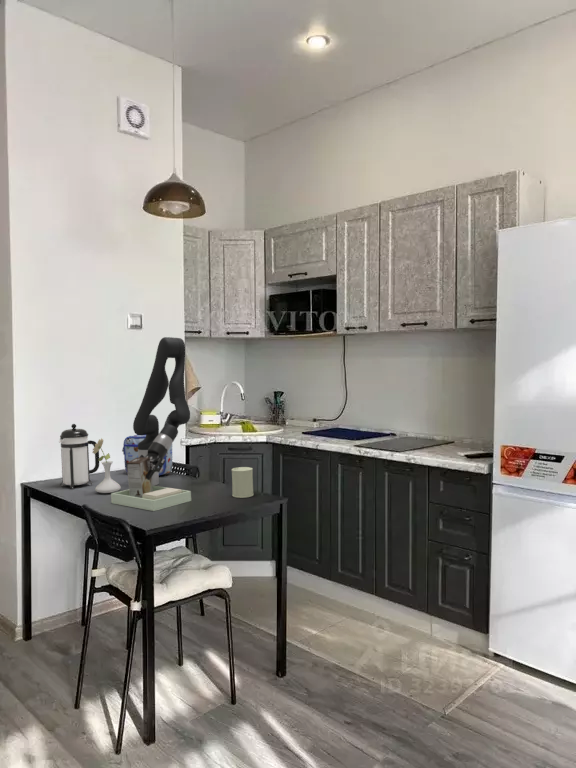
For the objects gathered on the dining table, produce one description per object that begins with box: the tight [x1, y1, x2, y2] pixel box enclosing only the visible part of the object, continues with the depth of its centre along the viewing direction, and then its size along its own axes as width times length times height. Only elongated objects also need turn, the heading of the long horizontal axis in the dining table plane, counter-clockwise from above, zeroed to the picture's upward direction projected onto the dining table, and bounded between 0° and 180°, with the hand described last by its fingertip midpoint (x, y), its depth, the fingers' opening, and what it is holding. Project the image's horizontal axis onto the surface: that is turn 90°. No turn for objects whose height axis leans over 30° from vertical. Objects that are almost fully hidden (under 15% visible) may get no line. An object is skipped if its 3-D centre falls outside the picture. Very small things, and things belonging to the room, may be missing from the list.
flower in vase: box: [92, 437, 122, 494], centre depth 282 cm, size 13×11×25 cm
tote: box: [110, 485, 192, 512], centre depth 257 cm, size 26×20×5 cm
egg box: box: [142, 487, 182, 500], centre depth 253 cm, size 8×14×5 cm, turn 143°
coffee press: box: [58, 423, 100, 489], centre depth 300 cm, size 17×16×30 cm
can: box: [231, 466, 254, 499], centre depth 269 cm, size 9×9×12 cm
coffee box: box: [126, 457, 153, 498], centre depth 259 cm, size 9×6×16 cm
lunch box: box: [121, 434, 173, 476], centre depth 324 cm, size 28×10×22 cm, turn 68°
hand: (140, 477), depth 260 cm, fingers closed on coffee box, 8 cm apart
